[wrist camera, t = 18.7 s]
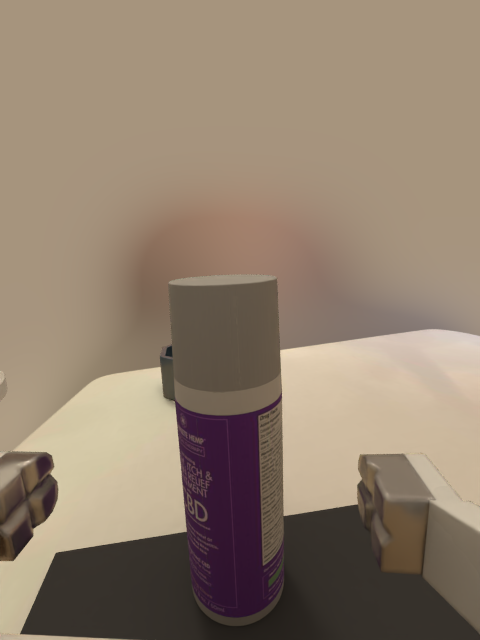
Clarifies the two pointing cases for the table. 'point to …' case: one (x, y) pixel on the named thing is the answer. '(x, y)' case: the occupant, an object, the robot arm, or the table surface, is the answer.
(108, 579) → the mat
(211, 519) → the container
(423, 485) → the robot arm
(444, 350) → the table surface
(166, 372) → the octagonal ring
